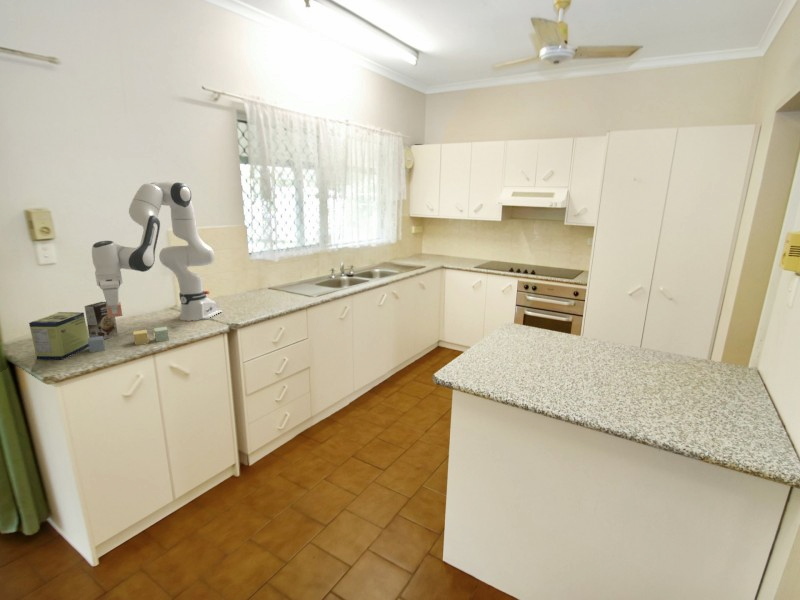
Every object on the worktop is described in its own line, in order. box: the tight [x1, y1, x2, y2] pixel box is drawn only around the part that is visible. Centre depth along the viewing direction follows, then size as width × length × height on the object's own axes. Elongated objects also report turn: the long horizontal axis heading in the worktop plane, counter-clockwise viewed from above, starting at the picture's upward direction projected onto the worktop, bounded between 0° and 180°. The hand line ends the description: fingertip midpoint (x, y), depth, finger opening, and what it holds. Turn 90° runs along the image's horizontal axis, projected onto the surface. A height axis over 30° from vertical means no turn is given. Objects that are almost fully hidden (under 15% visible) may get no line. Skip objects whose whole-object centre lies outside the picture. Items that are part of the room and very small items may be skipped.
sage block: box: [153, 326, 170, 342], centre depth 185 cm, size 5×5×5 cm
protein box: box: [28, 311, 89, 360], centre depth 166 cm, size 10×16×16 cm
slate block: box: [88, 336, 106, 353], centre depth 171 cm, size 5×5×5 cm
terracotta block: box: [106, 301, 123, 318], centre depth 173 cm, size 5×5×5 cm
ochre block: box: [132, 329, 149, 346], centre depth 180 cm, size 5×5×5 cm
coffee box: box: [84, 301, 119, 341], centre depth 184 cm, size 9×6×16 cm
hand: (114, 311), depth 173 cm, fingers closed on terracotta block, 5 cm apart
